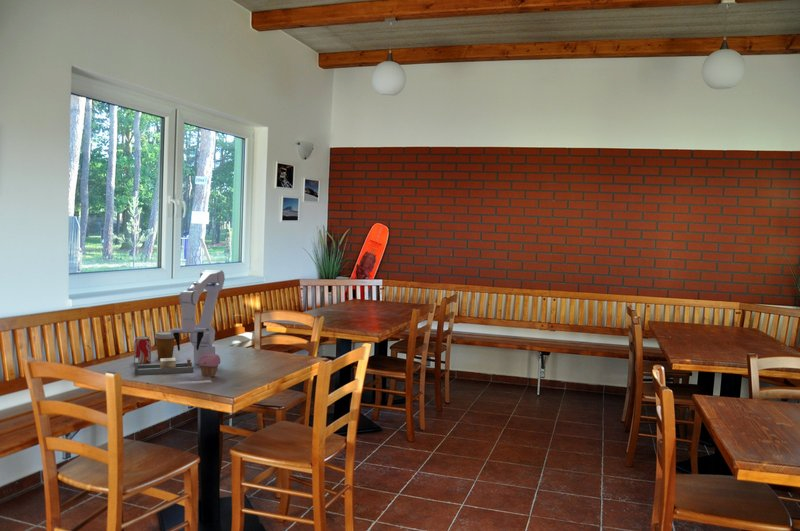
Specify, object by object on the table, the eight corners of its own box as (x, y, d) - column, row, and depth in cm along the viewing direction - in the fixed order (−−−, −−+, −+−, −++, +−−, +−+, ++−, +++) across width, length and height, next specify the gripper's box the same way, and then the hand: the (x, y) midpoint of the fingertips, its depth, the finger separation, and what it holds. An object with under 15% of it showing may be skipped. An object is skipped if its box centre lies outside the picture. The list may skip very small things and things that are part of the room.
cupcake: (202, 373, 281) (202, 350, 281) (222, 374, 281) (223, 351, 280) (195, 378, 272) (195, 354, 272) (216, 379, 272) (216, 355, 272)
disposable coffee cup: (180, 358, 311) (180, 332, 311) (163, 361, 303) (163, 335, 303) (167, 355, 316) (167, 330, 316) (150, 358, 308) (150, 332, 308)
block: (189, 367, 287) (189, 357, 287) (190, 370, 282) (190, 360, 281) (160, 368, 283) (160, 358, 282) (160, 371, 277) (160, 361, 277)
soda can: (145, 366, 292) (145, 339, 291) (130, 365, 293) (130, 338, 292) (154, 363, 299) (154, 336, 298) (139, 361, 300) (140, 335, 299)
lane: (191, 369, 289) (191, 355, 289) (193, 374, 280) (193, 360, 280) (135, 371, 281) (135, 357, 280) (134, 376, 272) (135, 362, 271)
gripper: (171, 320, 277) (170, 352, 278) (207, 319, 282) (206, 350, 283) (170, 317, 283) (170, 349, 284) (205, 317, 289) (204, 347, 290)
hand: (188, 349), depth 284 cm, fingers open, 7 cm apart
